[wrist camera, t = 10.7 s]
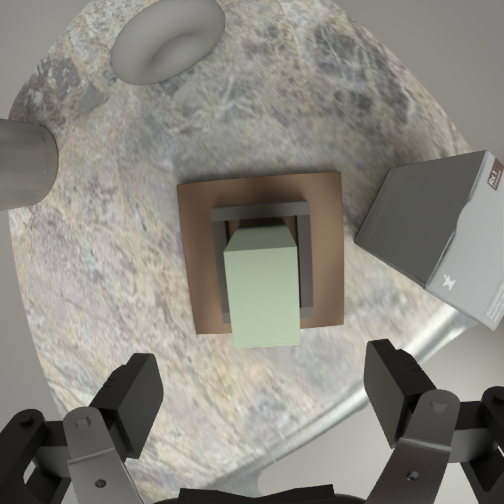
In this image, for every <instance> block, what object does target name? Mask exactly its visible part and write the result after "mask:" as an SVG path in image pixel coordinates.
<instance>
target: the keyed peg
mask: <svg viewBox="0 0 504 504" xmlns="http://www.w3.org/2000/svg"><path fill="white" fill-rule="evenodd" d="M224 262H225V271H226V281H227V290H228V300H229V309H230V318H231V326H232V335H233V343H234V348H253V347H271V346H287V345H300V313H299V283H298V260H297V246H296V244H295V242H294V240H293V237H292V235H291V233H290V231H289V229H288V227H287V225H286V223H273V224H258V225H244V226H238V227H237V229H236V231H235V233H234V234H233V236H232V238H231V240H230V241H229V243H228V245H227V247H226V248H225V250H224Z"/></svg>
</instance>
